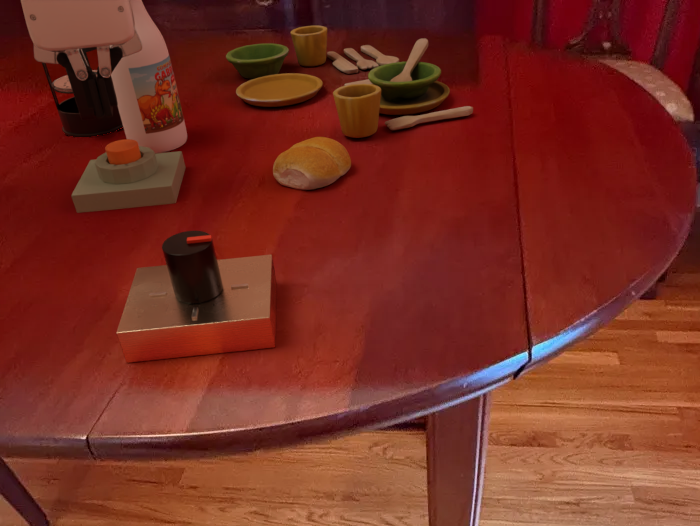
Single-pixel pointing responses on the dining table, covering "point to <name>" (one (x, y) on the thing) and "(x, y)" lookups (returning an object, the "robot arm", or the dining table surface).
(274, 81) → the tableware set
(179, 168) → the control box
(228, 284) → the panel
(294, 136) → the dining table surface
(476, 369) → the dining table surface
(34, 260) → the dining table surface
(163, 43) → the milk bottle
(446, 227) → the dining table surface
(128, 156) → the button
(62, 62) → the robot arm
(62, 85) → the french press
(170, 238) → the hob knob
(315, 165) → the bread roll
